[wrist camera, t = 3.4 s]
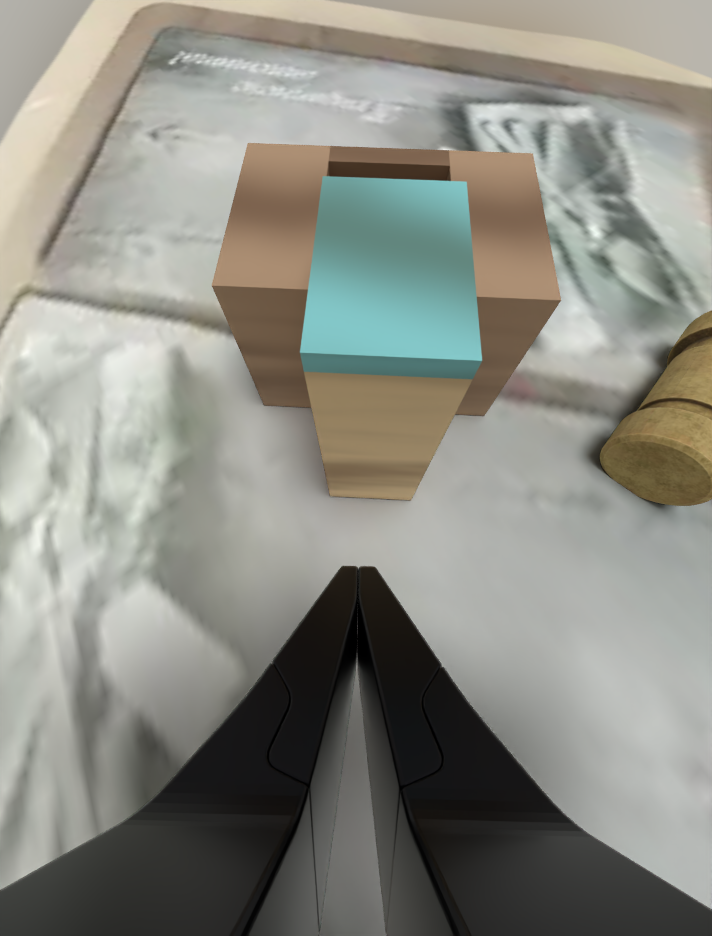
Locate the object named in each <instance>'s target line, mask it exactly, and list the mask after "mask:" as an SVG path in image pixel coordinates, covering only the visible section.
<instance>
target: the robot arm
mask: <svg viewBox="0 0 712 936" xmlns="http://www.w3.org/2000/svg"><path fill="white" fill-rule="evenodd" d="M357 620H358V632H357ZM356 662H357V663H358V675H359V684H360V694H361V703H362V713H363V722H364V732H365V741H366V751H367V760H368V769H369V779H370V788H371V798H372V807H373V817H374V826H375V836H376V845H377V855H378V864H379V874H380V883H381V893H382V902H383V912H384V921H385V930H386V934H387V936H712V909H710V908H708V907H707V906H705V905H704V904H702V903H700V902H699V901H697V900H695V899H694V898H692V897H690V896H689V895H687V894H686V893H684V892H682V891H681V890H679V889H677V888H676V887H674V886H673V885H671V884H669V883H668V882H666V881H664V880H663V879H661V878H660V877H658V876H656V875H655V874H653V873H651V872H650V871H648V870H647V869H645V868H643V867H642V866H640V865H638V864H637V863H635V862H634V861H632V860H630V859H629V858H627V857H625V856H624V855H622V854H621V853H619V852H617V851H616V850H614V849H612V848H611V847H609V846H608V845H606V844H604V843H603V842H601V841H599V840H598V839H596V838H595V837H593V836H592V835H590V834H588V833H587V832H586V831H584V830H583V829H582V828H581V827H579V826H578V825H577V824H575V823H574V822H573V821H572V820H571V819H570V818H569V817H567V816H566V815H565V814H564V813H563V812H562V811H561V810H560V809H559V808H558V807H557V806H556V805H555V804H554V803H553V802H552V801H551V800H550V798H549V797H548V796H547V795H546V794H545V793H544V792H543V791H542V789H541V788H540V787H539V786H538V785H537V784H536V782H535V781H534V780H533V779H532V778H531V776H530V775H529V774H528V773H527V772H526V771H525V769H524V768H523V767H522V766H521V765H520V764H519V762H518V761H517V760H516V759H515V758H514V757H513V755H512V754H511V753H510V752H509V751H508V749H507V748H506V747H505V746H504V745H503V744H502V742H501V741H500V740H499V739H498V738H497V737H496V735H495V734H494V733H493V732H492V731H491V729H490V728H489V727H488V726H487V725H486V723H485V722H484V721H483V720H482V719H481V717H480V716H479V715H478V714H477V712H476V711H475V710H474V709H473V707H472V706H471V705H470V704H469V702H468V701H467V700H466V698H465V697H464V695H463V694H462V693H461V691H460V690H459V689H458V687H457V686H456V684H455V683H454V682H453V680H452V679H451V677H450V676H449V674H448V673H447V671H446V670H445V668H444V667H442V664H441V663H440V661H439V660H438V658H437V657H436V655H435V654H434V652H433V651H432V649H431V648H430V647H429V645H428V644H427V642H426V641H425V639H424V638H423V636H422V635H421V633H420V632H419V630H418V629H417V627H416V626H415V624H414V623H413V622H412V620H411V619H410V617H409V616H408V614H407V613H406V611H405V610H404V608H403V607H402V605H401V604H400V602H399V601H398V599H397V598H396V597H395V595H394V594H393V592H392V591H391V589H390V588H389V586H388V585H387V583H386V582H385V580H384V579H383V577H382V576H381V574H380V573H379V572H378V570H377V569H376V568H375V567H373V566H360V567H359V569H358V567H356V566H342V567H341V568H340V569H339V570H338V572H337V573H336V574H335V576H334V577H333V579H332V580H331V581H330V583H329V584H328V585H327V587H326V588H325V589H324V591H323V592H322V594H321V595H320V596H319V598H318V599H317V600H316V602H315V603H314V605H313V606H312V607H311V609H310V610H309V611H308V613H307V614H306V615H305V617H304V618H303V620H302V621H301V622H300V624H299V625H298V626H297V628H296V629H295V631H294V632H293V633H292V635H291V636H290V637H289V639H288V640H287V642H286V643H285V644H284V646H283V647H282V648H281V650H280V651H279V652H278V654H277V655H276V657H275V658H274V659H273V661H272V663H271V664H270V665H269V666H268V667H267V669H266V670H265V671H264V673H263V674H262V676H261V677H260V678H259V680H258V681H257V682H256V683H255V685H254V686H253V687H252V689H251V690H250V691H249V692H248V694H247V695H246V696H245V698H244V699H243V700H242V701H241V702H240V703H239V705H238V706H237V707H236V708H235V709H234V710H233V711H232V713H231V714H230V715H229V716H228V717H227V718H226V719H225V721H224V722H223V723H222V724H221V725H220V726H219V727H218V728H217V729H216V730H215V732H214V733H213V734H212V735H211V736H210V737H209V738H208V739H207V740H206V741H205V743H204V744H203V745H202V746H201V747H200V748H199V749H198V750H197V751H196V752H195V753H194V755H193V756H192V757H191V758H190V759H189V760H188V761H187V762H186V763H185V764H184V766H183V767H182V768H181V769H180V770H179V771H178V772H177V773H176V774H175V775H174V777H173V778H172V779H171V780H170V781H169V782H168V783H167V784H166V785H165V786H164V787H163V788H162V789H161V790H160V791H159V792H158V793H157V794H156V795H155V796H154V797H153V798H152V799H151V800H150V801H149V802H148V803H147V804H145V805H144V806H143V807H142V808H140V809H139V810H138V811H137V812H136V813H134V814H133V815H131V816H130V817H129V818H127V819H126V820H124V821H123V822H121V823H119V824H118V825H116V826H114V827H112V828H111V829H109V830H107V831H105V832H103V833H102V834H100V835H98V836H96V837H95V838H93V839H91V840H89V841H87V842H86V843H84V844H82V845H80V846H78V847H77V848H75V849H73V850H71V851H69V852H68V853H66V854H64V855H62V856H60V857H59V858H57V859H55V860H53V861H52V862H50V863H48V864H46V865H44V866H43V867H41V868H39V869H37V870H35V871H34V872H32V873H30V874H28V875H26V876H25V877H23V878H21V879H19V880H18V881H16V882H14V883H12V884H10V885H9V886H7V887H5V888H3V889H1V890H0V936H319V931H320V926H321V919H322V912H323V904H324V897H325V890H326V883H327V875H328V868H329V861H330V853H331V846H332V839H333V832H334V824H335V817H336V810H337V802H338V795H339V788H340V780H341V773H342V766H343V759H344V751H345V744H346V737H347V729H348V722H349V715H350V708H351V700H352V693H353V686H354V678H355V671H356Z"/></svg>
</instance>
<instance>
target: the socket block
mask: <svg viewBox="0 0 712 936" xmlns="http://www.w3.org/2000/svg"><path fill="white" fill-rule="evenodd" d="M323 176H331V177H358V178H384V179H410V180H437V181H463V182H467V191H468V203H469V214H470V226H471V237H472V249H473V261H474V272H475V284H476V295H477V307H478V318H479V330H480V342H481V353H482V362H481V364H480V366H479V368H478V370H477V372H476V374H475V376H474V378H473V380H472V382H471V384H470V386H469V388H468V390H467V391H466V393H465V395H464V397H463V399H462V401H461V403H460V405H459V407H458V409H457V411H456V413H455V414H459V415H480V416H484V415H485V414H486V412H487V411H488V409H489V408H490V406H491V405H492V403H493V402H494V400H495V399H496V397H497V396H498V394H499V393H500V391H501V390H502V388H503V387H504V385H505V384H506V382H507V381H508V379H509V378H510V376H511V375H512V373H513V372H514V370H515V369H516V367H517V366H518V364H519V363H520V361H521V360H522V358H523V357H524V355H525V354H526V352H527V351H528V349H529V348H530V346H531V345H532V343H533V342H534V340H535V339H536V337H537V336H538V334H539V333H540V331H541V330H542V328H543V327H544V325H545V324H546V322H547V321H548V319H549V318H550V316H551V315H552V313H553V312H554V310H555V309H556V307H557V306H558V304H559V303H560V301H561V297H560V292H559V287H558V282H557V277H556V272H555V266H554V261H553V256H552V251H551V246H550V240H549V235H548V230H547V225H546V220H545V215H544V209H543V204H542V199H541V194H540V189H539V183H538V178H537V173H536V168H535V163H534V157H533V154H531V153H503V152H476V151H449V150H422V149H395V148H368V147H341V146H314V145H287V144H259V143H248V145H247V149H246V153H245V157H244V160H243V164H242V168H241V172H240V176H239V180H238V184H237V188H236V192H235V196H234V200H233V204H232V208H231V212H230V216H229V220H228V224H227V227H226V231H225V235H224V239H223V243H222V247H221V251H220V255H219V259H218V263H217V267H216V271H215V275H214V279H213V283H212V287H213V289H214V292H215V294H216V296H217V299H218V301H219V303H220V305H221V308H222V310H223V312H224V315H225V317H226V319H227V321H228V324H229V326H230V328H231V331H232V333H233V335H234V337H235V340H236V342H237V344H238V347H239V349H240V351H241V353H242V356H243V358H244V360H245V363H246V365H247V367H248V369H249V372H250V374H251V376H252V379H253V381H254V383H255V385H256V388H257V390H258V392H259V395H260V397H261V399H262V401H263V404H264V405H268V406H289V407H310V408H311V403H310V398H309V393H308V389H307V384H306V379H305V374H304V370H303V365H302V360H301V355H300V348H301V340H302V333H303V325H304V317H305V309H306V302H307V294H308V286H309V278H310V271H311V263H312V255H313V247H314V240H315V232H316V224H317V216H318V209H319V201H320V193H321V185H322V177H323Z"/></svg>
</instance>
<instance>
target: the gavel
mask: <svg viewBox="0 0 712 936" xmlns="http://www.w3.org/2000/svg"><path fill="white" fill-rule="evenodd" d="M600 462H601V465H602V467H603V469H604V470H605V472H606V473H607V474H608V475H609V476H610V477H611V478H612V479H613V480H615V481H616V482H618V483H619V484H621V485H622V486H623V487H625V488H626V489H628V490H629V491H631V492H632V493H634V494H635V495H637V496H639V497H641V498H644V499H646V500H650V501H653V502H656V503H661V504H666V505H675V506H691V505H697V504H701V503H704V502H707V501H709V500H711V499H712V311H709V312H707V313H705V314H703V315H701V316H700V317H698V318H697V319H695V320H694V321H693V322H692V323H691V324H690V325H689V326H688V327H687V328H686V330H685V331H684V332H683V334H682V335H681V337H680V338H679V340H678V341H677V342H676V344H675V345H674V347H673V348H672V350H671V351H670V353H669V356H668V360H667V368H666V369H665V371H664V372H663V374H662V375H661V377H660V378H659V380H658V381H657V382H656V384H655V385H654V387H653V388H652V390H651V391H650V393H649V394H648V395H647V397H646V398H645V400H644V401H643V403H642V404H641V406H640V407H639V408H638V410H637V411H636V412H634V413H632V414H630V415H628V416H627V417H625V418H624V419H623V420H622V421H621V422H620V424H619V425H618V426H617V428H616V429H615V431H614V432H613V433H612V435H611V436H610V438H609V439H608V441H607V442H606V443H605V445H604V446H603V448H602V449H601V453H600Z"/></svg>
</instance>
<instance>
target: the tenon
mask: <svg viewBox="0 0 712 936" xmlns="http://www.w3.org/2000/svg"><path fill="white" fill-rule="evenodd" d="M300 355H301V360H302V365H303V370H304V374H305V379H306V384H307V389H308V393H309V398H310V403H311V408H312V413H313V417H314V422H315V427H316V432H317V436H318V441H319V446H320V451H321V455H322V460H323V465H324V470H325V474H326V479H327V484H328V489H329V494H330V496H338V497H358V498H377V499H397V500H411V499H412V497H413V495H414V493H415V491H416V489H417V487H418V486H419V484H420V482H421V480H422V478H423V476H424V474H425V472H426V470H427V468H428V466H429V464H430V462H431V460H432V458H433V456H434V454H435V452H436V450H437V448H438V446H439V444H440V442H441V440H442V439H443V437H444V435H445V433H446V431H447V429H448V427H449V425H450V423H451V421H452V419H453V417H454V415H455V413H456V411H457V409H458V407H459V405H460V403H461V401H462V399H463V397H464V395H465V393H466V391H467V390H468V388H469V386H470V384H471V382H472V380H473V378H474V376H475V374H476V372H477V370H478V368H479V366H480V364H481V362H482V353H481V342H480V330H479V318H478V307H477V295H476V284H475V272H474V261H473V249H472V237H471V226H470V214H469V203H468V191H467V182H463V181H437V180H410V179H384V178H358V177H331V176H323V177H322V185H321V193H320V201H319V209H318V216H317V224H316V232H315V240H314V247H313V255H312V263H311V271H310V278H309V286H308V294H307V302H306V309H305V317H304V325H303V333H302V340H301V348H300Z"/></svg>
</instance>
